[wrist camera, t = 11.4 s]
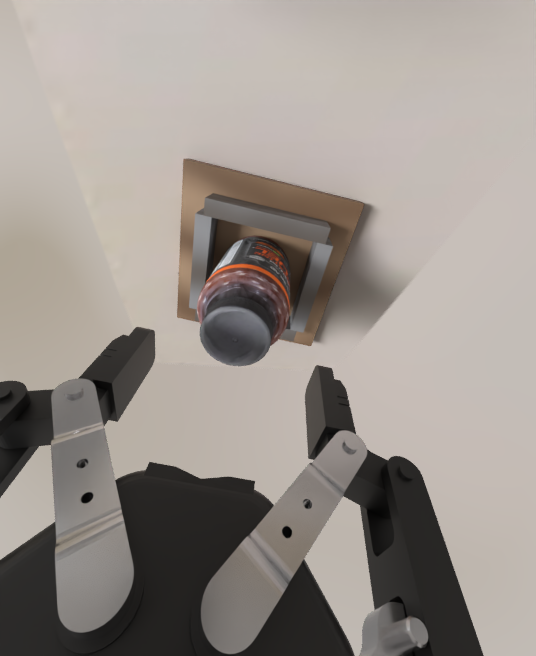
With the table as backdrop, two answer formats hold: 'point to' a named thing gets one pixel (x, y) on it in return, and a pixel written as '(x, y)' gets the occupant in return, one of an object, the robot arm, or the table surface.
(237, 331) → the supplement bottle
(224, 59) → the table surface
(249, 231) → the collar holder
